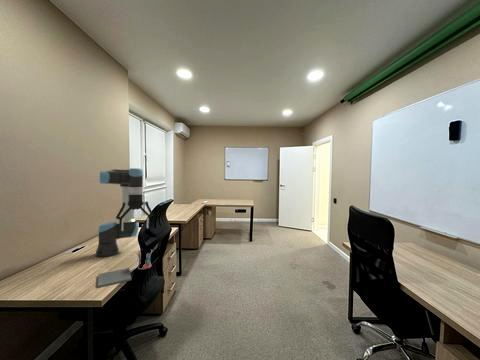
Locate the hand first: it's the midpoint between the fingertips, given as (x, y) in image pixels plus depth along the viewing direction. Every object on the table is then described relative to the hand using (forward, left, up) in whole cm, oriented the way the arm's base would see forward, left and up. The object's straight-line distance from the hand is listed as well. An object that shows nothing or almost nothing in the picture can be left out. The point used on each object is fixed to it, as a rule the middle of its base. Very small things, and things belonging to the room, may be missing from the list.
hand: (135, 229), depth 127 cm
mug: (-9, +8, -28) cm, 30 cm away
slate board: (-2, -10, -28) cm, 30 cm away
